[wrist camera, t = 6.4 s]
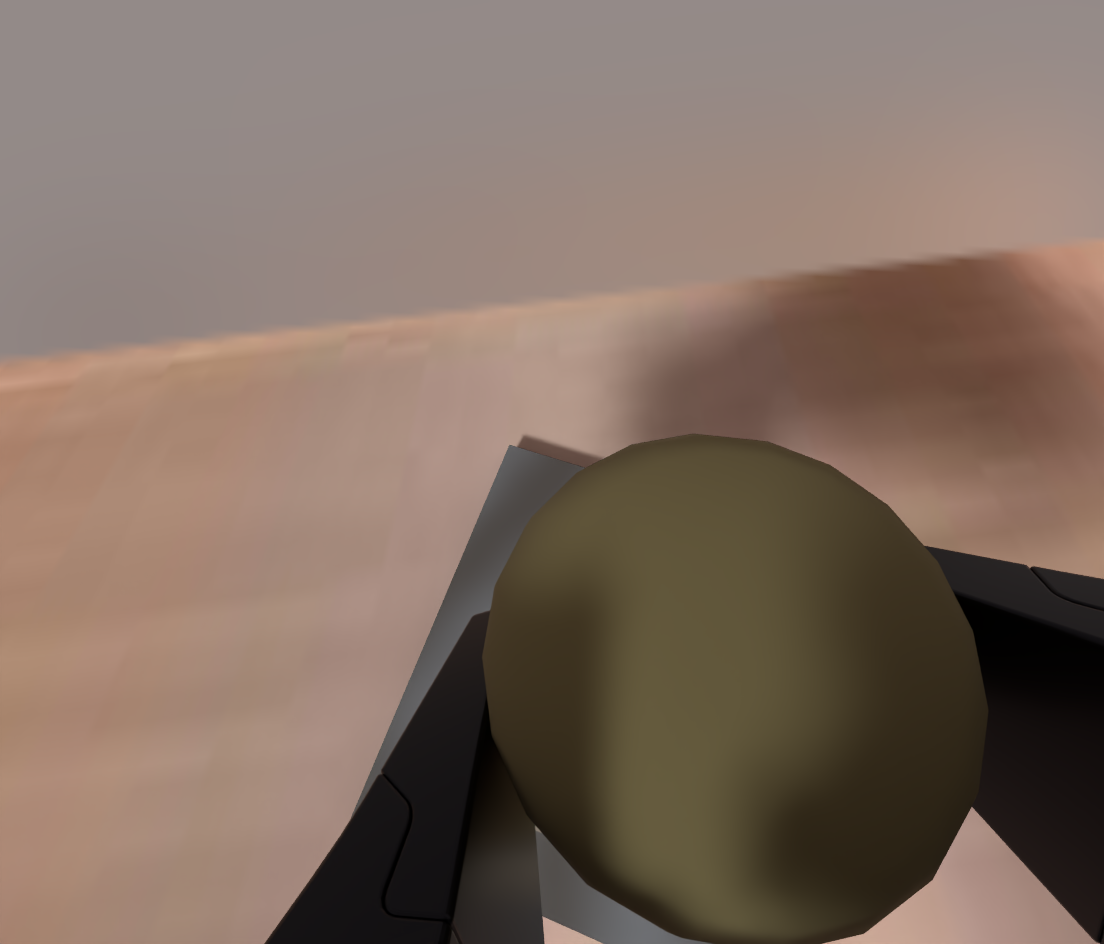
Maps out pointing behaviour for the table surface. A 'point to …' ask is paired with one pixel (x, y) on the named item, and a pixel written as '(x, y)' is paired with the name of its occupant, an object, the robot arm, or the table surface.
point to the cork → (735, 692)
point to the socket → (471, 590)
